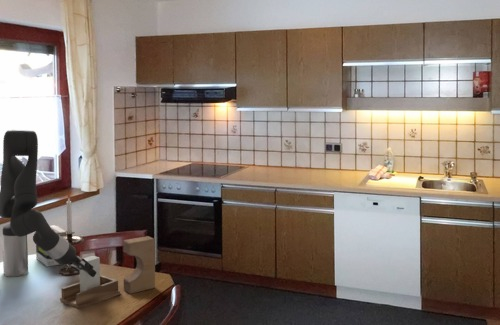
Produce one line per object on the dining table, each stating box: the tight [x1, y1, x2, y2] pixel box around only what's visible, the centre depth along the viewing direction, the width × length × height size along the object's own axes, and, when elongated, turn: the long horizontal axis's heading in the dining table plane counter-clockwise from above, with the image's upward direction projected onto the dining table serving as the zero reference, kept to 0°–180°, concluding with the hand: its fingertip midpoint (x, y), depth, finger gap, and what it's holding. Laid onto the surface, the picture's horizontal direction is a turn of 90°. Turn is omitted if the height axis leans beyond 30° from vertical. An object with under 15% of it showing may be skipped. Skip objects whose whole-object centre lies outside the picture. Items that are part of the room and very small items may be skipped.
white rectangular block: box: [79, 255, 101, 292], centre depth 197 cm, size 4×6×14 cm, turn 144°
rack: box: [59, 274, 121, 310], centre depth 198 cm, size 12×18×5 cm, turn 144°
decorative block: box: [122, 235, 156, 295], centre depth 206 cm, size 11×6×20 cm, turn 127°
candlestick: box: [58, 190, 84, 277], centre depth 222 cm, size 11×11×35 cm
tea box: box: [35, 224, 67, 267], centre depth 238 cm, size 15×10×15 cm, turn 39°
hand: (87, 272), depth 196 cm, fingers open, 8 cm apart
